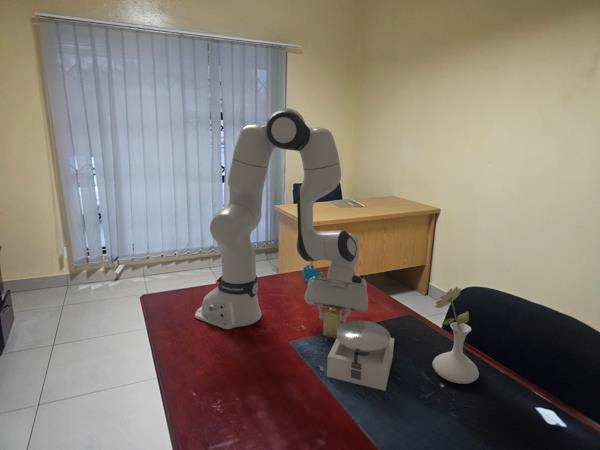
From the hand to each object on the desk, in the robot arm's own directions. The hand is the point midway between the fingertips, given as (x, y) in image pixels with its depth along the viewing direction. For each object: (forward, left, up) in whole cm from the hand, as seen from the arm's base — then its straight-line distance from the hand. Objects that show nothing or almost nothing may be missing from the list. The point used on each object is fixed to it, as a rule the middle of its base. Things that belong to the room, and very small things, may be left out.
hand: (331, 321), depth 116 cm
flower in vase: (+35, -7, -5) cm, 36 cm away
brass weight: (0, +1, -5) cm, 5 cm away
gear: (-18, +35, -5) cm, 39 cm away
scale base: (+12, -13, -5) cm, 18 cm away
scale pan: (+12, -14, 0) cm, 18 cm away
